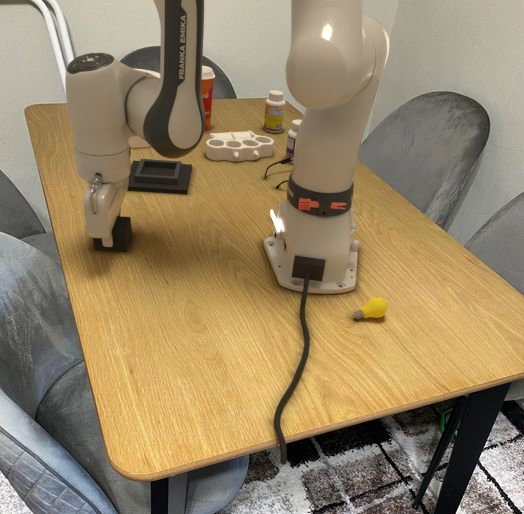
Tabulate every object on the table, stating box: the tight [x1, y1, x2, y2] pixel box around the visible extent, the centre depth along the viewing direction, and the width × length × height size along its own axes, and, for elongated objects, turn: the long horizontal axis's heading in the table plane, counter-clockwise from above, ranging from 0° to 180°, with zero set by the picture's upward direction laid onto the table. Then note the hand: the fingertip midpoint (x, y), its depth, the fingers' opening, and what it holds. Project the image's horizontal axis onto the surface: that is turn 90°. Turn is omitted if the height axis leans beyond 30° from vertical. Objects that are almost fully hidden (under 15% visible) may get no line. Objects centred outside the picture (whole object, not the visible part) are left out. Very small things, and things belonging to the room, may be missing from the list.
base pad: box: [127, 158, 193, 195], centre depth 120 cm, size 14×14×2 cm
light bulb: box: [353, 296, 388, 320], centre depth 87 cm, size 3×6×4 cm, turn 110°
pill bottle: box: [284, 119, 302, 165], centre depth 132 cm, size 5×5×10 cm
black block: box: [92, 215, 133, 253], centre depth 97 cm, size 6×6×4 cm
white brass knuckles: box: [205, 130, 275, 163], centre depth 135 cm, size 3×18×15 cm
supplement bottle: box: [263, 89, 287, 134], centre depth 146 cm, size 6×6×10 cm
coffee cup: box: [202, 65, 216, 132], centre depth 142 cm, size 8×8×15 cm
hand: (112, 234), depth 98 cm, fingers closed on black block, 6 cm apart
